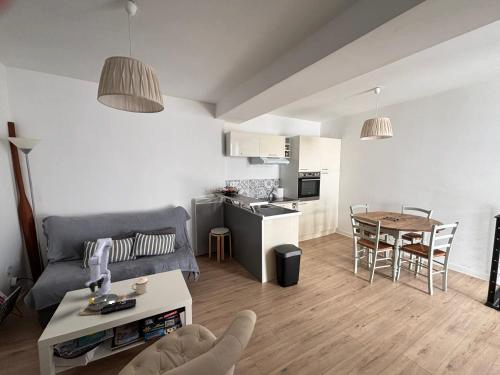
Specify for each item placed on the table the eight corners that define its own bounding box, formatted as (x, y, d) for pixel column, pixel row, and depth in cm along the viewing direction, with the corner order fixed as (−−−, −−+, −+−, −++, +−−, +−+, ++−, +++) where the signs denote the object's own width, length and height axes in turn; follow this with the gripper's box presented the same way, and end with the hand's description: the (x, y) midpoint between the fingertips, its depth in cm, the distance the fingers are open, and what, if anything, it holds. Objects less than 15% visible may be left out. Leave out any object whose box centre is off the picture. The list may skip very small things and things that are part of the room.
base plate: (97, 298, 161) (97, 296, 161) (124, 296, 163) (124, 294, 163) (79, 315, 141) (79, 314, 141) (110, 313, 144) (110, 311, 144)
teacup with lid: (148, 287, 176) (148, 274, 175) (148, 292, 168) (147, 279, 167) (132, 290, 171) (132, 277, 171) (131, 296, 163) (130, 282, 162)
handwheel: (98, 297, 160) (97, 289, 160) (122, 295, 162) (122, 287, 162) (82, 312, 142) (81, 303, 142) (110, 310, 144) (109, 301, 144)
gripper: (99, 267, 161) (100, 284, 161) (81, 277, 146) (82, 295, 147) (107, 268, 159) (108, 285, 160) (90, 277, 145) (91, 296, 146)
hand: (96, 290), depth 154 cm, fingers open, 5 cm apart
